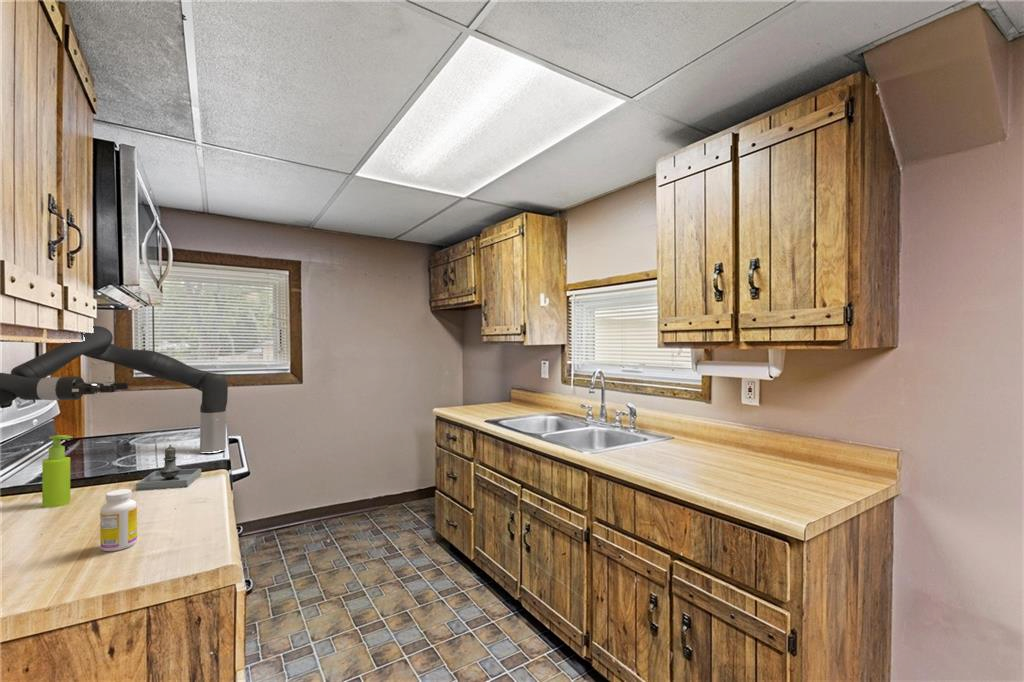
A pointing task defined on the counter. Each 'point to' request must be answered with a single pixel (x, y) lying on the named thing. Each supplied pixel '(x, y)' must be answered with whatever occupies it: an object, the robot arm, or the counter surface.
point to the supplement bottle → (118, 521)
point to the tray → (155, 481)
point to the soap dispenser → (56, 475)
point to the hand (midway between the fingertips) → (121, 387)
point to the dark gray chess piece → (170, 465)
